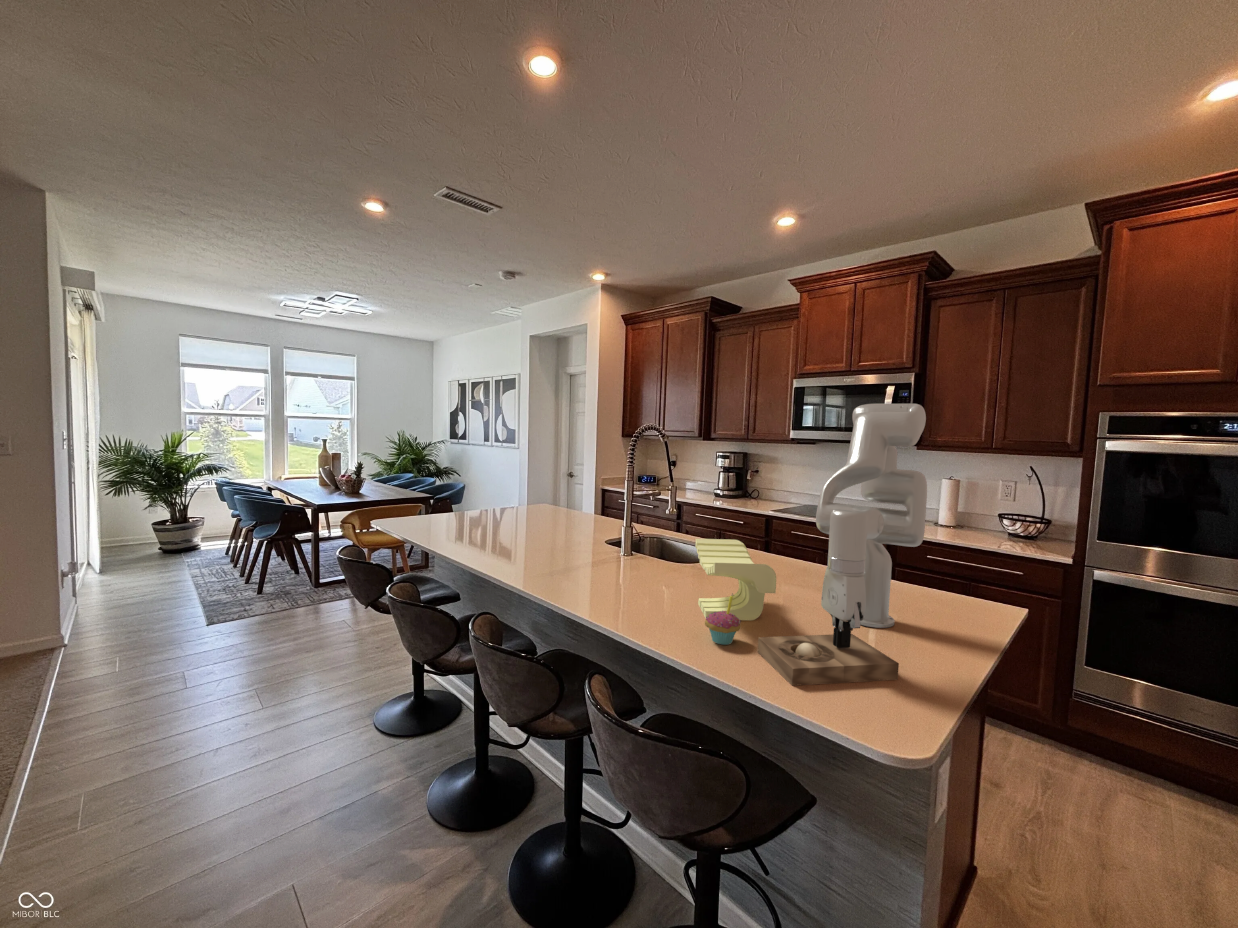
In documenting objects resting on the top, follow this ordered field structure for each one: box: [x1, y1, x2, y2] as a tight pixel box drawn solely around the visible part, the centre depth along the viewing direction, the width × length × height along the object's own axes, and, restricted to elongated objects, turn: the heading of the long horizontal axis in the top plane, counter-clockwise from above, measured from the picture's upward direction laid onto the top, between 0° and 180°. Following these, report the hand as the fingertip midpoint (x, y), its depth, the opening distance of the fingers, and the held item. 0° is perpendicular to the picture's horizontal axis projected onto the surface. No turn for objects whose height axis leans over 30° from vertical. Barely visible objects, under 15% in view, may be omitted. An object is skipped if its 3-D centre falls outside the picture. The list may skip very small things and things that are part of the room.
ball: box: [795, 643, 820, 657], centre depth 113 cm, size 5×5×5 cm
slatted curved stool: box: [695, 538, 777, 621], centre depth 146 cm, size 30×16×18 cm, turn 1°
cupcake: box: [704, 592, 742, 646], centre depth 125 cm, size 9×8×12 cm
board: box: [757, 633, 900, 686], centre depth 114 cm, size 24×16×4 cm, turn 100°
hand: (841, 646), depth 114 cm, fingers closed
